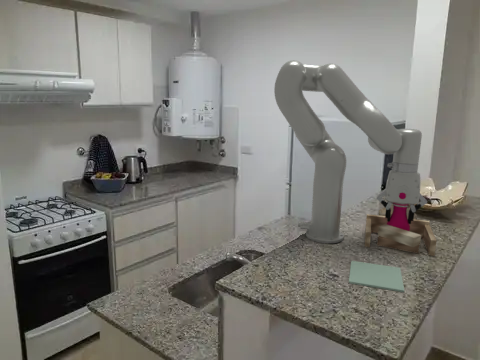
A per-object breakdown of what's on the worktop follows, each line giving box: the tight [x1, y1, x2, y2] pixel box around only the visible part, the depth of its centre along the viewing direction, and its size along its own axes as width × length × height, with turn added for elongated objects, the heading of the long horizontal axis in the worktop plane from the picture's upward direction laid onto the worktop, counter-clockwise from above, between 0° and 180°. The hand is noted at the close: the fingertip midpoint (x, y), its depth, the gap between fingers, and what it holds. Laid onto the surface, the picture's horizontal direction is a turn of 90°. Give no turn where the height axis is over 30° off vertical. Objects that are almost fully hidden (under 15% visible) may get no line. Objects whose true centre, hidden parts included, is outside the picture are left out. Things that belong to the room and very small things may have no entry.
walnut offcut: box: [376, 236, 421, 254], centre depth 117 cm, size 12×4×3 cm, turn 61°
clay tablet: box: [378, 204, 418, 220], centre depth 147 cm, size 14×5×20 cm
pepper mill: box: [387, 193, 410, 231], centre depth 121 cm, size 7×7×20 cm
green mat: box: [348, 260, 405, 293], centre depth 98 cm, size 13×13×1 cm
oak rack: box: [364, 213, 437, 257], centre depth 121 cm, size 20×16×6 cm
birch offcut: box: [377, 224, 422, 247], centre depth 116 cm, size 12×4×3 cm, turn 37°
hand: (398, 220), depth 122 cm, fingers closed on pepper mill, 5 cm apart
